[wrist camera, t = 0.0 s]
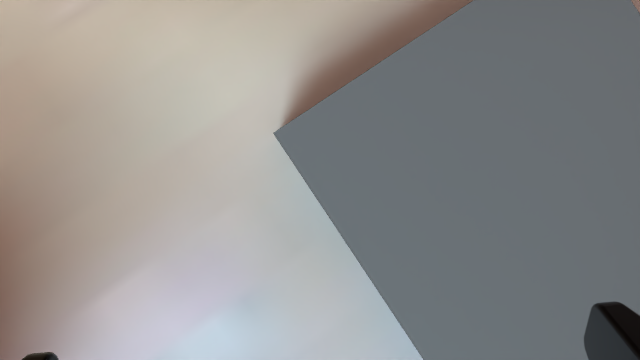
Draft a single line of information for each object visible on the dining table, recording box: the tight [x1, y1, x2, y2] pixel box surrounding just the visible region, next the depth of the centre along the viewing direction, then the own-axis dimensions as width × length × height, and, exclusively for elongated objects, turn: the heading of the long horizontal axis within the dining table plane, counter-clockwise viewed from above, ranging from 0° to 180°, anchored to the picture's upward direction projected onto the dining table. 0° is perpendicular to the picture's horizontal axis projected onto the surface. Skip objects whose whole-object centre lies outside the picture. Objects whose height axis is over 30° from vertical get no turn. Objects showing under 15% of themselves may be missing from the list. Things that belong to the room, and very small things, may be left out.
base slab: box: [273, 0, 640, 360], centre depth 24 cm, size 14×14×2 cm
